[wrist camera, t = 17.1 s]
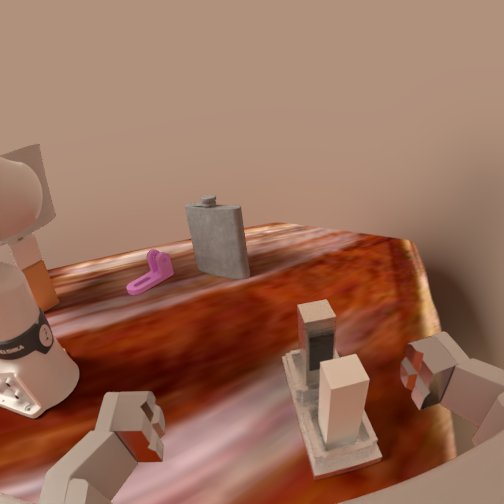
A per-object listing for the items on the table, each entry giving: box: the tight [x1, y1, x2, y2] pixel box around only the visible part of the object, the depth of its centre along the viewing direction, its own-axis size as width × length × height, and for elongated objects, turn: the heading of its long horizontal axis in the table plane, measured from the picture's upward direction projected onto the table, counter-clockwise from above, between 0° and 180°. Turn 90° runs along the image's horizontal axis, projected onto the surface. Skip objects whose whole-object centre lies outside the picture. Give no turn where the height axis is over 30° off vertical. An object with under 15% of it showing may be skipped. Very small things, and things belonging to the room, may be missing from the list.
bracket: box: [127, 249, 174, 295], centre depth 80 cm, size 13×6×7 cm, turn 142°
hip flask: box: [185, 195, 250, 279], centre depth 77 cm, size 16×4×20 cm, turn 58°
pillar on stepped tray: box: [282, 299, 382, 481], centre depth 38 cm, size 8×22×14 cm, turn 6°
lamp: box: [0, 144, 60, 313], centre depth 66 cm, size 23×23×42 cm
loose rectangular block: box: [318, 354, 370, 449], centre depth 32 cm, size 4×5×12 cm
